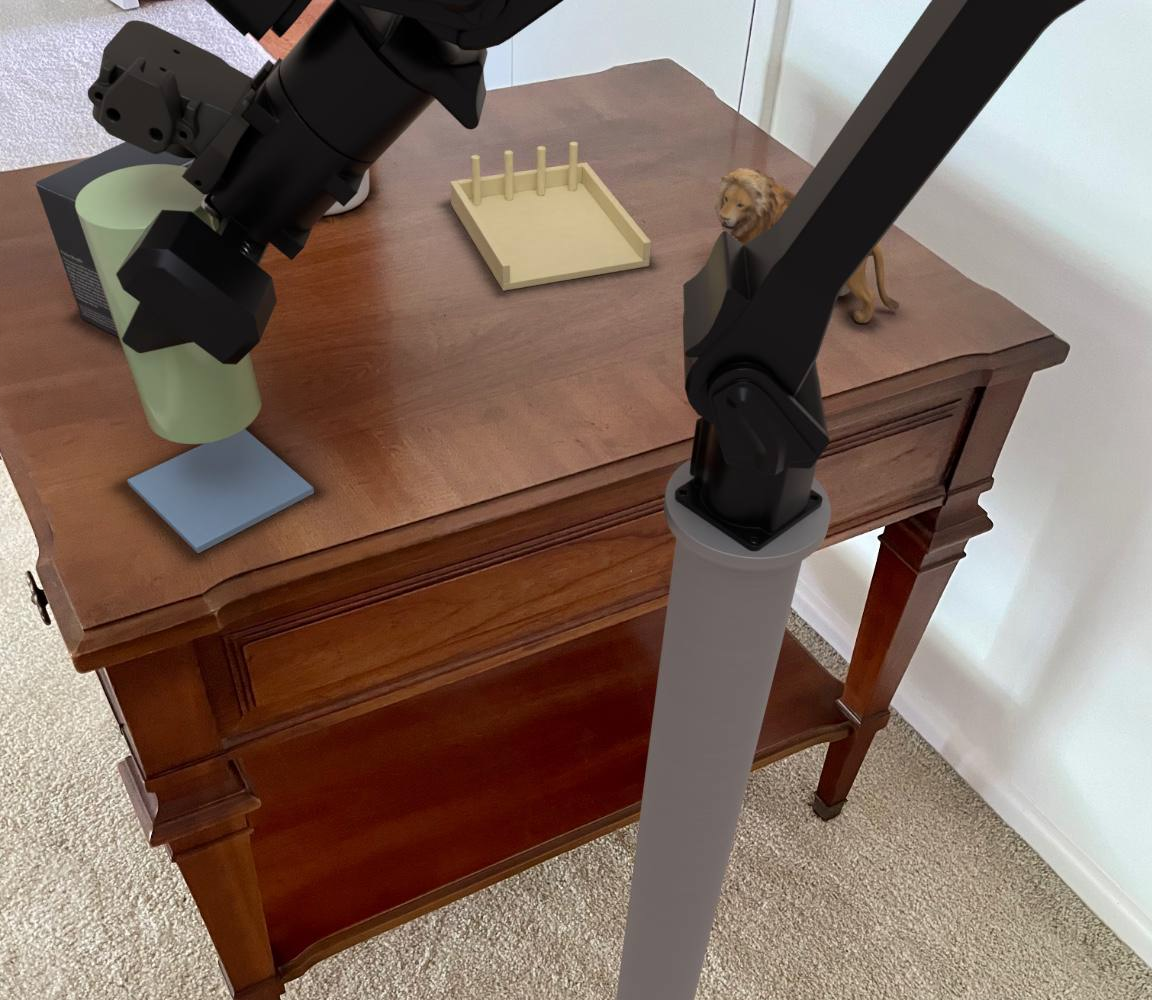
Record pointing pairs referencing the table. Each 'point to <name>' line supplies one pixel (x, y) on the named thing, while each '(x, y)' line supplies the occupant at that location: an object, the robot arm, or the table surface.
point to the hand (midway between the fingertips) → (151, 309)
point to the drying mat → (220, 489)
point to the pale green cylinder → (162, 377)
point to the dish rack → (547, 223)
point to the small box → (67, 228)
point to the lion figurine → (759, 204)
